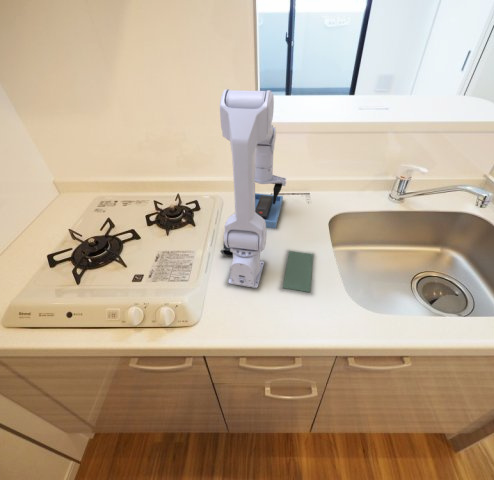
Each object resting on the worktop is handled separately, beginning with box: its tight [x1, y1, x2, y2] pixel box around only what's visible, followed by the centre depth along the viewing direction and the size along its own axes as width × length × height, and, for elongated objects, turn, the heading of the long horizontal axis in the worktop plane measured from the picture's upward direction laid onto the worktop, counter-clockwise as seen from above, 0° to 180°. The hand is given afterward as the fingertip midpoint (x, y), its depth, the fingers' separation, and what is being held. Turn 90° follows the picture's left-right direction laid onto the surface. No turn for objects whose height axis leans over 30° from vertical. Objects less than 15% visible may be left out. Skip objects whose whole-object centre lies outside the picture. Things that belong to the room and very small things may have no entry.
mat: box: [282, 250, 314, 293], centre depth 72 cm, size 14×7×1 cm, turn 168°
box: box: [255, 192, 284, 229], centre depth 93 cm, size 17×12×2 cm
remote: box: [255, 195, 273, 220], centre depth 92 cm, size 13×4×3 cm, turn 168°
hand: (263, 201), depth 91 cm, fingers open, 7 cm apart
